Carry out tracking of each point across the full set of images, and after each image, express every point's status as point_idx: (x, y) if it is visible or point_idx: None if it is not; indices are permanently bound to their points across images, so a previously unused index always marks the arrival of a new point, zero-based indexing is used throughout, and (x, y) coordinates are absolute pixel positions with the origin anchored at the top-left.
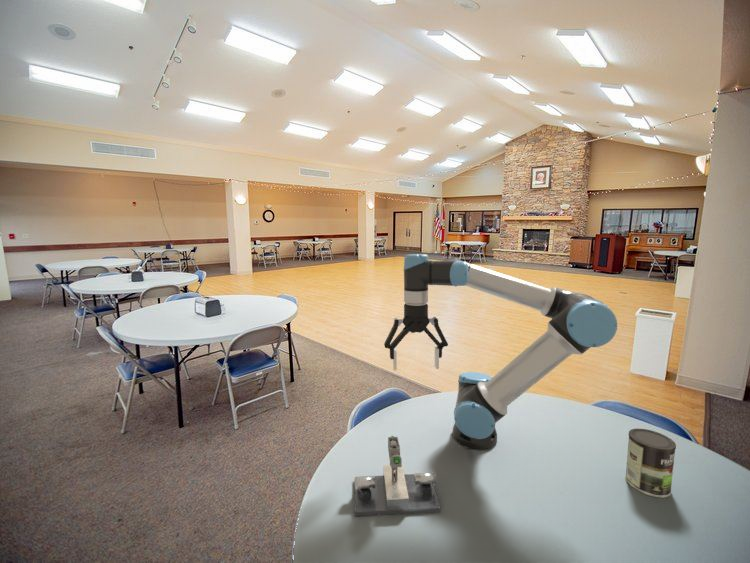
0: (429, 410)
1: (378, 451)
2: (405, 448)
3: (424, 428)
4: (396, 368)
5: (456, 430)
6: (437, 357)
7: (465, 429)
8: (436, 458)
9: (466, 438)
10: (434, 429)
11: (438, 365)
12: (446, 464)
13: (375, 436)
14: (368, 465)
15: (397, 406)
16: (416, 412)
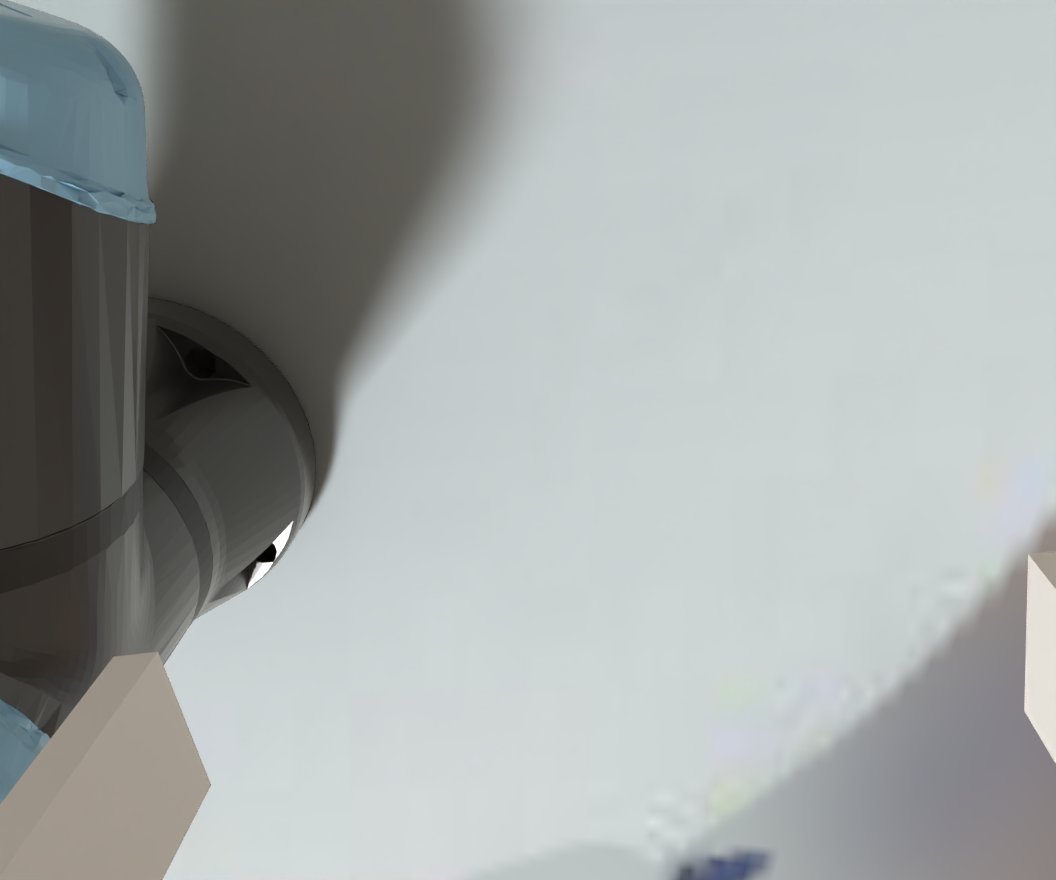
0: (485, 752)
1: (900, 211)
2: (677, 271)
3: (525, 533)
4: (1043, 574)
5: (264, 434)
6: (3, 841)
7: (42, 14)
8: (437, 168)
9: (198, 372)
10: (450, 525)
11: (84, 699)
12: (362, 101)
13: (919, 406)
14: (992, 14)
15: (730, 793)
16: (583, 725)
